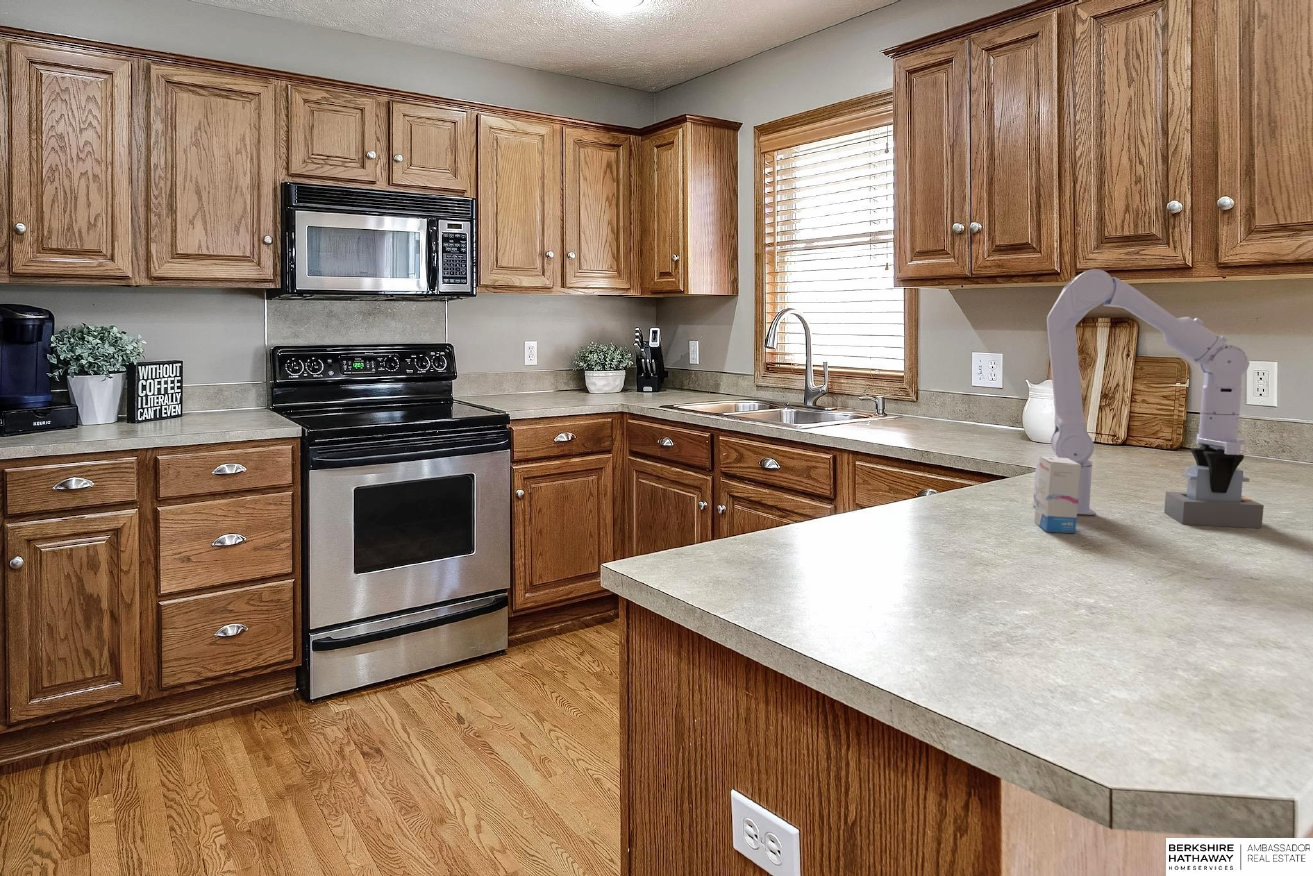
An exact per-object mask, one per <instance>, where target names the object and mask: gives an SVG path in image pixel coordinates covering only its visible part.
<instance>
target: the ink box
mask: <svg viewBox="0 0 1313 876" xmlns="http://www.w3.org/2000/svg"><path fill="white" fill-rule="evenodd" d="M1038 463H1039V470H1038V482H1037V494H1036V506H1034V507H1035V508H1034V509H1035V510H1034V519H1033V522H1034V524H1036V525H1037V526H1039V528H1041V529H1042V530H1043V531H1044V532H1046V533H1061V534H1063V533H1064V534H1076V533H1077V531H1076V529H1077V518H1078V514H1077V508H1078V497H1079V486H1080V475H1081V465H1080V464H1078V463H1076V462H1074V461H1072V460H1070V459H1068V458H1058V457H1052V456H1039V460H1038Z"/></svg>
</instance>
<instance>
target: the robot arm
mask: <svg viewBox="0 0 1313 876" xmlns="http://www.w3.org/2000/svg"><path fill="white" fill-rule="evenodd" d="M1101 304H1103V307H1110V308H1112V307H1113V308H1122V309H1124V310H1125V311H1127V312H1130V313H1131V314H1132V315H1134V316H1136V317H1137V318H1139V319H1140V320H1142V321H1144V322H1145V323H1147V324H1148V325H1150V326H1152V327H1153V328H1155V329H1157V330H1158V331H1160V332H1161V333H1162V335H1163V342H1164V344H1165V345H1167V346H1168V347H1169V348H1171V349H1173V350H1174V351H1176V353H1177V352H1178V354H1180V355H1182V356H1183V357H1185V358H1186V359H1188V360H1189V361H1191V362H1192V363H1194V364H1197V365H1198V364H1199V367H1200V369H1201V371H1202V372H1203V373H1204V374H1203V375H1204V376H1203V386H1202V392H1201V405H1200V415H1199V428H1198V433H1197V434H1196V438H1195V439H1196V442H1195V444H1196V445H1197V446H1199V445H1200V446H1199V447H1191V448H1190V452H1191V454H1192V455H1193V457H1194V460H1195V463H1196V466H1208V467H1209V472H1210V486H1211V491H1212V492H1213V493H1226V492H1227V490H1228V487H1229V485H1230V482H1231V479H1232V477H1233V474H1234V472H1235V470H1236V468H1237V469H1238V466H1239V465H1240V464H1241V462H1243V461H1244V459H1245V455H1244V454H1241V444H1246V439H1243V438H1238V437H1239V425H1240V424H1239V423H1240V414H1241V400H1242V390H1243V389H1242V381H1243V375H1244V374H1245V373H1246V371H1247V370H1248V368H1249V366H1250V361H1248V356H1247V354H1246V352H1245V351H1244V350H1243V349H1242V348H1241V347H1239V346H1237V345H1233V344H1227V341H1228V337H1226V336H1224V335H1220V336H1219V335H1218V334H1216V333H1214V332H1213V331H1211V330H1210V329H1209V328H1207V327H1206V326H1204V325H1203V324H1204V321H1203V320H1202V319H1200V318H1198V317H1195V318H1194V319H1193V318H1191V317H1190V316H1183V317H1178V318H1177V317H1176V316H1175V315H1173V314H1171V313H1170V312H1168V311H1167V310H1166V309H1164V308H1163V307H1161V306H1160V305H1159V304H1157V303H1156V302H1155V301H1153V300H1152V299H1151V298H1149V297H1148V296H1146V295H1145V294H1143V293H1142V292H1141V291H1139V290H1138V289H1137V288H1135V287H1133V286H1131V285H1130V284H1129V283H1127V282H1125V281H1124V280H1122V279H1120V278H1118V277H1115V276H1113V277H1111V274H1109V273H1108V272H1106V271H1105V270H1103V269H1100V268H1099V269H1097V268H1093V269H1091V268H1090V269H1089V270H1085V271H1083V272H1082V273H1079V274H1078V275H1076V276H1075V277H1074V278H1073V279H1072V280H1070V281H1069V282H1068V283H1067V284H1066V285H1065V286H1064V287H1063V288H1062V290H1061V292H1060V294H1059V295H1058V297H1057V299H1056V301H1055V302H1054V304H1053V306H1052V308H1051V309H1050V311H1049V312H1048V315H1047V316H1046V327H1047V330H1046V331H1047V338H1048V350H1049V359H1050V360H1049V361H1050V369H1051V370H1050V371H1051V381H1052V382H1051V383H1052V392H1053V394H1052V395H1053V404H1054V431H1053V433H1052V436H1051V438H1050V445H1051V447H1052V451H1054V453H1055V454H1053V455H1052V456H1051V457H1058V458H1068V459H1070V460H1072V461H1074V462H1076V463H1078V464H1080V465H1081V475H1080V486H1079V497H1078V508H1077V515H1087V516H1088V515H1089V516H1095V515H1096V513H1097V512H1095V511H1094V510H1093V509H1092V508H1091V507H1090V506H1091V505H1090V504H1091V488H1092V474H1093V462H1092V461H1091V460H1090V458H1091V457H1092V455H1093V454H1094V450H1095V444H1094V443H1095V442H1094V440H1093V439H1092V437H1091V436H1090V435H1089V434H1090V433H1088V431H1087V430H1088V429H1087V423H1086V418H1085V414H1084V406H1083V405H1084V404H1083V396H1082V395H1083V394H1082V384H1081V373H1080V363H1079V350H1078V339H1077V330H1076V329H1077V328H1076V326H1077V325H1078V323H1079V322H1081V320H1082V319H1083V318H1084V317H1085V316H1086V315H1087V314H1088V312H1090V311H1092V310H1093V309H1095V308H1096V307H1098V306H1100V305H1101ZM1038 470H1039V462H1038V463H1037V464H1036V467H1035V472H1034V487H1033V488H1034V489H1033V502H1032V506H1034V507H1035V506H1036V494H1037V482H1038Z"/></svg>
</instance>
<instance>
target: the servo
mask: <svg viewBox="0 0 1313 876" xmlns="http://www.w3.org/2000/svg"><path fill="white" fill-rule="evenodd" d="M1181 476H1182V477H1184V478H1186V479H1187V484H1186V492H1187V496H1186V497H1187V498H1189V499H1191V500H1204V501H1225V502H1241V495H1243V494H1242V492H1243V483H1250V477H1247V476H1245V475H1244V470H1242V469H1240V468H1238V467H1237V468H1236V470H1235V472H1234V474H1233V477H1232V479H1231V482H1230V485H1229V487H1228V490H1227V492H1226V493H1213V492H1212V491H1211V486H1210V472H1209V467H1208V466H1197V465H1188V472H1185V471H1183V472H1181Z"/></svg>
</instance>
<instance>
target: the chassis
mask: <svg viewBox="0 0 1313 876" xmlns="http://www.w3.org/2000/svg"><path fill="white" fill-rule="evenodd" d="M1186 496H1187V491H1185V492H1183V491H1167V490H1166V491H1165V497H1164V509H1163V511H1164V512H1163V513H1164V514H1165V515H1168V516H1169V517H1170V518H1172V519H1173V520H1175V521H1177V522H1178V523H1180V524H1181V525H1192V526H1193V525H1194V526H1209V527H1210V526H1211V527H1231V528H1232V527H1233V528H1244V529H1246V528H1249V529H1262V528H1263V520H1264V519H1263V518H1264V516H1263V515H1264V504H1262V503H1259V502H1257V501H1255V500H1253V499H1251V498H1248V497H1246V496H1244V495H1243V494H1241V502H1225V501H1204V500H1191V499H1189V498H1187V497H1186Z"/></svg>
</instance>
